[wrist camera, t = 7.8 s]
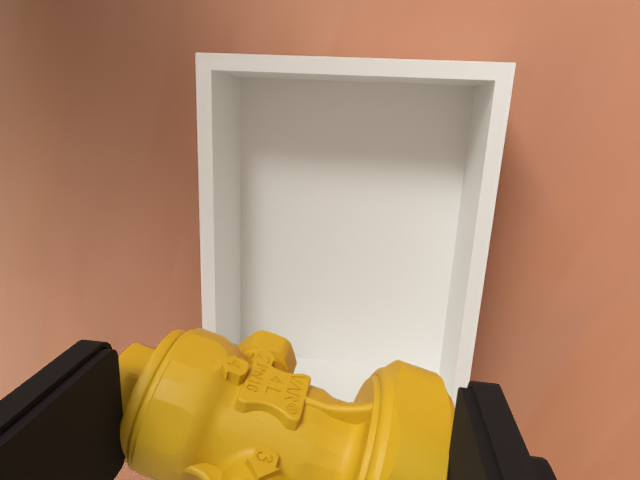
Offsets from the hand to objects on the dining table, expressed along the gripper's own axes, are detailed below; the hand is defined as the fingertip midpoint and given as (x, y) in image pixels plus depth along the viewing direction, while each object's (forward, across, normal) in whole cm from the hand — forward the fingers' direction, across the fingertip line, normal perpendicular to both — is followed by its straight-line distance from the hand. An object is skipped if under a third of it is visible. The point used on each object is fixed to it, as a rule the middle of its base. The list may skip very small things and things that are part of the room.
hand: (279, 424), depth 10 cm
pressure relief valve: (+4, 0, +5) cm, 7 cm away
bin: (+17, 0, 0) cm, 17 cm away
